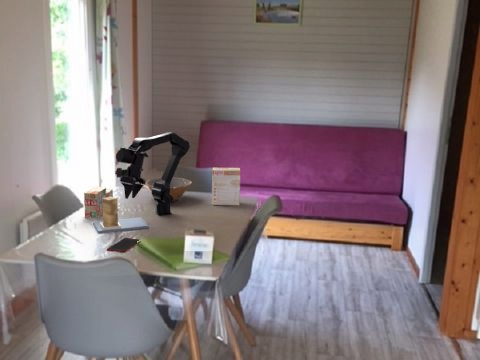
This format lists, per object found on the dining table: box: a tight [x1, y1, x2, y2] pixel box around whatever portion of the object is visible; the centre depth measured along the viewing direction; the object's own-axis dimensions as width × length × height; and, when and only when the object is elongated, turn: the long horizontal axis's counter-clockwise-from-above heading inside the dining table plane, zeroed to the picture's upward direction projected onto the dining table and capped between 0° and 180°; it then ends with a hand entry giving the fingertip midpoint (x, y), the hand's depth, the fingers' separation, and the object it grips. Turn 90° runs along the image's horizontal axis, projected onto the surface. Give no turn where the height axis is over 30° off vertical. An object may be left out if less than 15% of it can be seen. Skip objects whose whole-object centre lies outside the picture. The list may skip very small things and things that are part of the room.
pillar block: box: [102, 196, 119, 227], centre depth 213 cm, size 4×4×13 cm
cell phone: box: [106, 237, 140, 254], centre depth 194 cm, size 8×15×1 cm, turn 164°
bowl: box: [145, 176, 192, 202], centre depth 267 cm, size 25×25×10 cm
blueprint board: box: [92, 216, 149, 234], centre depth 219 cm, size 22×14×2 cm, turn 116°
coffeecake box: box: [211, 166, 241, 206], centre depth 261 cm, size 15×7×20 cm, turn 92°
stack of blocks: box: [83, 186, 114, 219], centre depth 239 cm, size 21×6×12 cm, turn 174°
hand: (129, 198), depth 223 cm, fingers open, 9 cm apart
